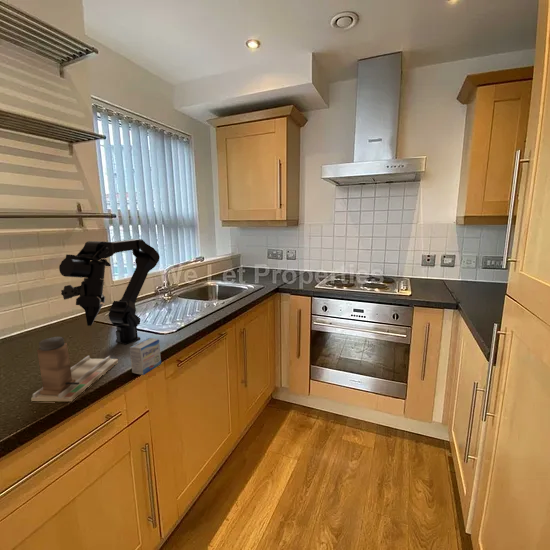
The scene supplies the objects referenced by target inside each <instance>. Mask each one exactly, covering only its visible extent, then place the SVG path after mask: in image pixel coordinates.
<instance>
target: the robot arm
mask: <svg viewBox="0 0 550 550" xmlns="http://www.w3.org/2000/svg"><path fill="white" fill-rule="evenodd" d="M83 245H84V246H83V247H82V248H81V249H80V250H79V252H78V253H77V254H66V255H65V258H63V260H62V261H61V262H60V264H59V267H58V270H59V273H60V275H61V276H63V277H65V278H68V277H69V278H80V279H81V278H82V279H83V280H82V281H81V283H80V285H78V286H73V285H71V284H69V285H65V286H64V287H63V289H61V290H60V291H61V294H60V295H61V296H62V298H63V300H64V301H65V300H69V299H72V298H74V297H77V296H78V297H77V298H76V300H75V306H80V307H81V308H82V309H83V310H84V314H85V319H86V325H87V326H88V327H89V326H90V327H91V326H93V324H94V322H95V319H96V318H97V316H98V315H99V312H100V311H101V309H102V307H103V305H104V304H103V303H106V296H105V295H104V293H103V292H104V286H105V280H104V279H105V269H106V267H111V266H112V265H111V263H110V262H109V261H108V260H107V258H110V257H113V256H114V255H115V254H117V253H123V252H127V251H132V255H133V256H134V257H135V260H134V261H135V266H136V267H135V269H134V271H133V273H132V276H131V278H130V280H129V281H128V283H127V286H126V289H125V290H124V292H123V295H122V297H121V298H120V299H119V300H114V301H113V302H112V303H111V307H110V308H109V309H108V311H109V312H108V319H109V321H110V322H111V324H112V326H113V327H115V326H116V331H115V335H116V336H115V337H116V338H115V342H118V343H120V344H123V345H127V344H128V345H129V344H130V343H133V342H136V341H138V340H141V337H140V336H138V326H139V325H140V324H141V317H139V316H138V315H137V314H136V312H137V309H136V301H137V299H138V297H139V295H140V293H141V290H142V288H143V285H144V283H145V281H146V279H147V276H148V275H149V272H150V271H151V270H153V269H154V268H156V266H157V264H158V263H159V261H160V254H159V252H158V251H157V250H156V249H155V248H154V247H153V246H151V245H149V244H148V243H146V241H145V240H144V239H142V238H130V239H126V240H117V241H101V240H100V241H98V240H97V241H96V240H94V241H93V240H89V241H86V242H85V243H84V244H83Z"/></svg>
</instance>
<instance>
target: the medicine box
mask: <svg viewBox="0 0 550 550" xmlns="http://www.w3.org/2000/svg"><path fill="white" fill-rule="evenodd" d="M160 344H161V343H160V339H158V338H154V337H148V338H146V339H144V340H142V341H140V342H138V343H136V344H134V345H132V346H129V355H130V361H131V362H130V364H131V373H132V374H136V375H140V376H145V375H146V374H148V373H150V372H151V371H152V370H154V369H155V368H157V367H159V366H160V365H162V359H161V358H162V357H161V345H160Z"/></svg>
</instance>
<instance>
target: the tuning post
mask: <svg viewBox="0 0 550 550" xmlns="http://www.w3.org/2000/svg"><path fill="white" fill-rule="evenodd" d="M38 346H39V348H38V349H36V353H37V357H38V364H39V369H40V370H39V371H40V376H41V382H42V383H41V384H42V387H43V389H42V390H40V394H43V395H59V394H60V393H61V392H63V391H64V390H65V389H66V388H68V387H69V386H70V385H72V384H76V385H78V384H79V382H75V379H72V376H71V369H70V368H71V362H70V355H69V349H68V343H67V342H65V338H64V337H62V336H52V337H49V338H48V337H47V338H44V339H42V340H40V341H39V342H38Z"/></svg>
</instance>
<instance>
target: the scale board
mask: <svg viewBox="0 0 550 550" xmlns="http://www.w3.org/2000/svg"><path fill="white" fill-rule="evenodd" d="M117 364H119V359H118V358H111V355H108V356H107V357H105V358H91V356H90V355H86V356H84V357H83V359H81V360H80V361H78V362H76V364H74V365H72V366H70V369H71V376H72V379H75V382H79V384H78V385H76V384H72V385H70V386H69V387H68V388H66V389H65V390H64V391H63V392H61V393H60V394H59V395H43V394H40V390H42V389H43V386H42V387H41V388H39V389H37V391H35V392H34V393H32V394H31V395H32V396H31V402H32V401H72V400H73V399H75V398H76V397H77V396H78V395H79V394H80V393H81V392H83V391H84V390H85V389H86V388H87V387H89V386H90V385H91V384H92V383H94V382H95V381H96V380H97V379H98V380H100V379H101V378H102V377H103V376H104V375H106V374H107V373H108V372H109V371H110V370H111V369H112V368H113V367H115V366H116V365H117ZM114 365H115V366H114ZM108 370H109V371H108ZM107 371H108V372H107ZM106 372H107V373H106ZM102 375H103V376H102ZM101 376H102V377H101ZM100 377H101V378H100ZM99 378H100V379H99ZM98 380H97V381H98ZM97 381H96V382H97ZM96 382H95V383H96ZM95 383H94V384H95ZM91 386H92V385H91ZM91 386H90V387H91ZM90 387H89V388H90ZM84 392H85V391H84ZM84 392H83V393H84ZM77 398H78V397H77ZM77 398H76V399H77ZM76 399H75V400H76Z"/></svg>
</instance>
